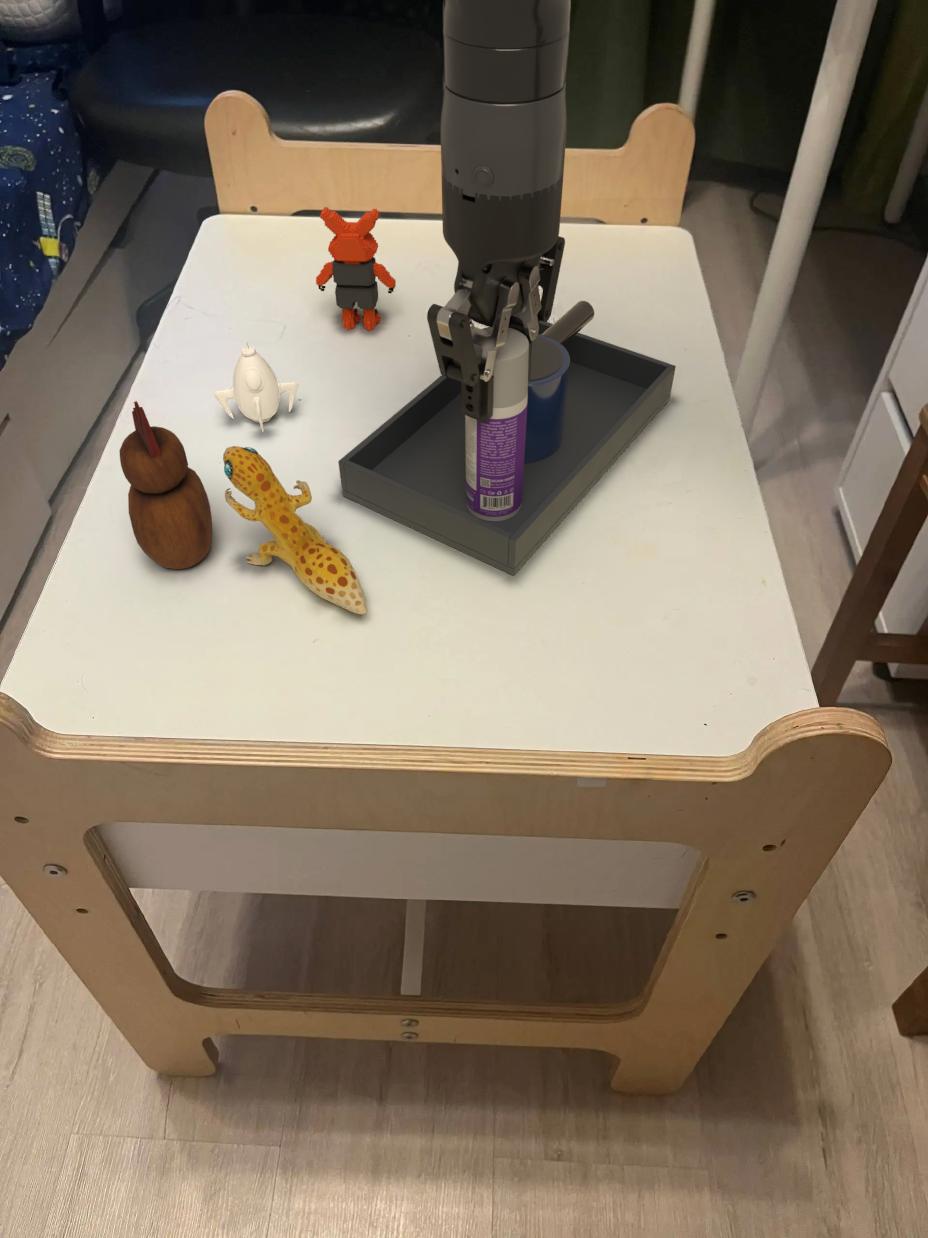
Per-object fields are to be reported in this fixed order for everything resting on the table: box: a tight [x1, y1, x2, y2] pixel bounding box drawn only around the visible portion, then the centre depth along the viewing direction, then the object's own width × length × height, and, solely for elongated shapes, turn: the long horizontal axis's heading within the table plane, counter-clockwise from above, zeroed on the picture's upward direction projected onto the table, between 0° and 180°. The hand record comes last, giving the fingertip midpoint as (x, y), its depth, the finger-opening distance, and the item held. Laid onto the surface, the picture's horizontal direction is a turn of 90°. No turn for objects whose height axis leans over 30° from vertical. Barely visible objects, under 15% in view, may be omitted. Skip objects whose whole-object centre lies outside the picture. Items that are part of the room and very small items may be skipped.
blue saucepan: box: [524, 300, 595, 463], centre depth 81 cm, size 15×8×8 cm, turn 146°
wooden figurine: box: [119, 400, 213, 570], centre depth 68 cm, size 7×6×15 cm
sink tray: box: [337, 321, 677, 576], centre depth 81 cm, size 17×28×4 cm, turn 146°
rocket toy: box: [213, 340, 299, 433], centre depth 83 cm, size 5×5×8 cm
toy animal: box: [315, 206, 396, 332], centre depth 93 cm, size 8×6×12 cm
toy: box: [222, 445, 367, 615], centre depth 68 cm, size 7×15×10 cm, turn 51°
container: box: [465, 326, 529, 521], centre depth 71 cm, size 5×5×15 cm
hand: (496, 398), depth 68 cm, fingers closed on container, 4 cm apart
